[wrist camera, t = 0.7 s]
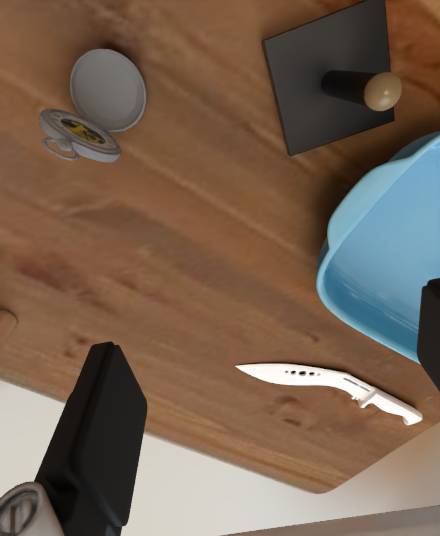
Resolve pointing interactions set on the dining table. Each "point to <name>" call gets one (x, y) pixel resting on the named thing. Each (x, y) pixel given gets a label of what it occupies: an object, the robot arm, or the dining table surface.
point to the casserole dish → (385, 247)
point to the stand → (333, 76)
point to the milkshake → (6, 327)
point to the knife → (335, 379)
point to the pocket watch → (97, 106)
